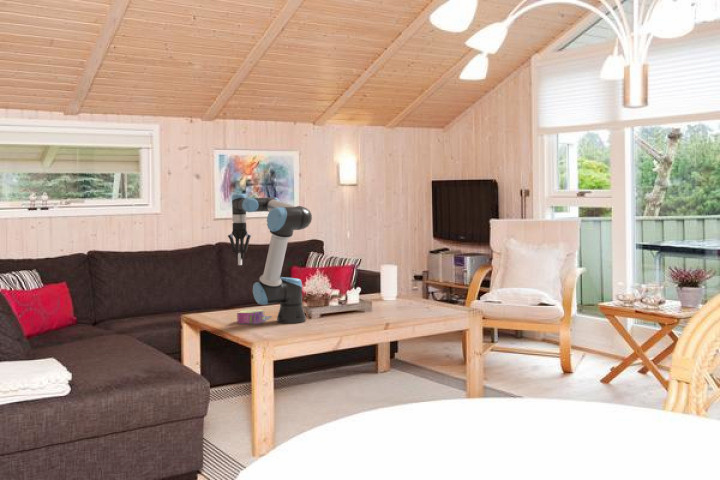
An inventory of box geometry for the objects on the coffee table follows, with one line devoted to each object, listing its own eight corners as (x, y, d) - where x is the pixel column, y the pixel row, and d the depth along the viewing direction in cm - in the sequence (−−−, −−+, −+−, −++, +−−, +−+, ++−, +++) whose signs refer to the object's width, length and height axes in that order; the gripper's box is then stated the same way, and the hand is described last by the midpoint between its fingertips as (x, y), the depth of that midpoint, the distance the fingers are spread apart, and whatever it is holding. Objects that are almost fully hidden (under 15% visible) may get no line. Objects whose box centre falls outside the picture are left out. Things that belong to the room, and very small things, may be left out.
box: (237, 323, 382) (259, 323, 381) (236, 312, 382) (258, 312, 380) (243, 320, 393) (264, 320, 391) (243, 309, 392) (264, 309, 390)
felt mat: (271, 316, 404) (271, 316, 404) (259, 324, 380) (259, 323, 380) (252, 316, 405) (252, 315, 405) (239, 324, 382) (239, 323, 382)
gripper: (252, 221, 406) (253, 264, 408) (230, 221, 408) (230, 264, 410) (248, 222, 399) (249, 265, 400) (225, 222, 400) (226, 265, 402)
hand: (240, 264), depth 405 cm, fingers closed
